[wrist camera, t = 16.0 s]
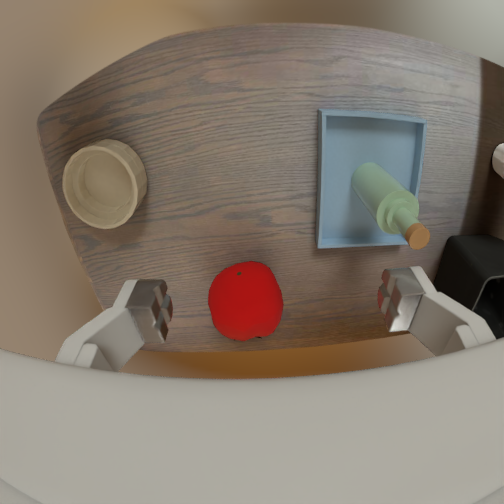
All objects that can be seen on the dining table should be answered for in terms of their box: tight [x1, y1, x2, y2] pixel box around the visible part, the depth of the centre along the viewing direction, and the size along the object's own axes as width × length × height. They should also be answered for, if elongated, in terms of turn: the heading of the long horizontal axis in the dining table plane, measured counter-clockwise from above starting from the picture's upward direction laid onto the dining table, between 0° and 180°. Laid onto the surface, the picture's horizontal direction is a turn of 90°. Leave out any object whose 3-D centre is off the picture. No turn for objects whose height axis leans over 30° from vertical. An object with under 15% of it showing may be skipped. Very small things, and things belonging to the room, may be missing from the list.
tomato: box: [208, 261, 283, 341], centre depth 49 cm, size 13×13×13 cm
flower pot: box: [434, 235, 504, 340], centre depth 43 cm, size 19×19×17 cm
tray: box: [315, 109, 427, 248], centre depth 41 cm, size 21×16×3 cm
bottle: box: [351, 162, 430, 250], centre depth 34 cm, size 6×6×17 cm
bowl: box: [62, 139, 147, 229], centre depth 40 cm, size 13×13×5 cm
